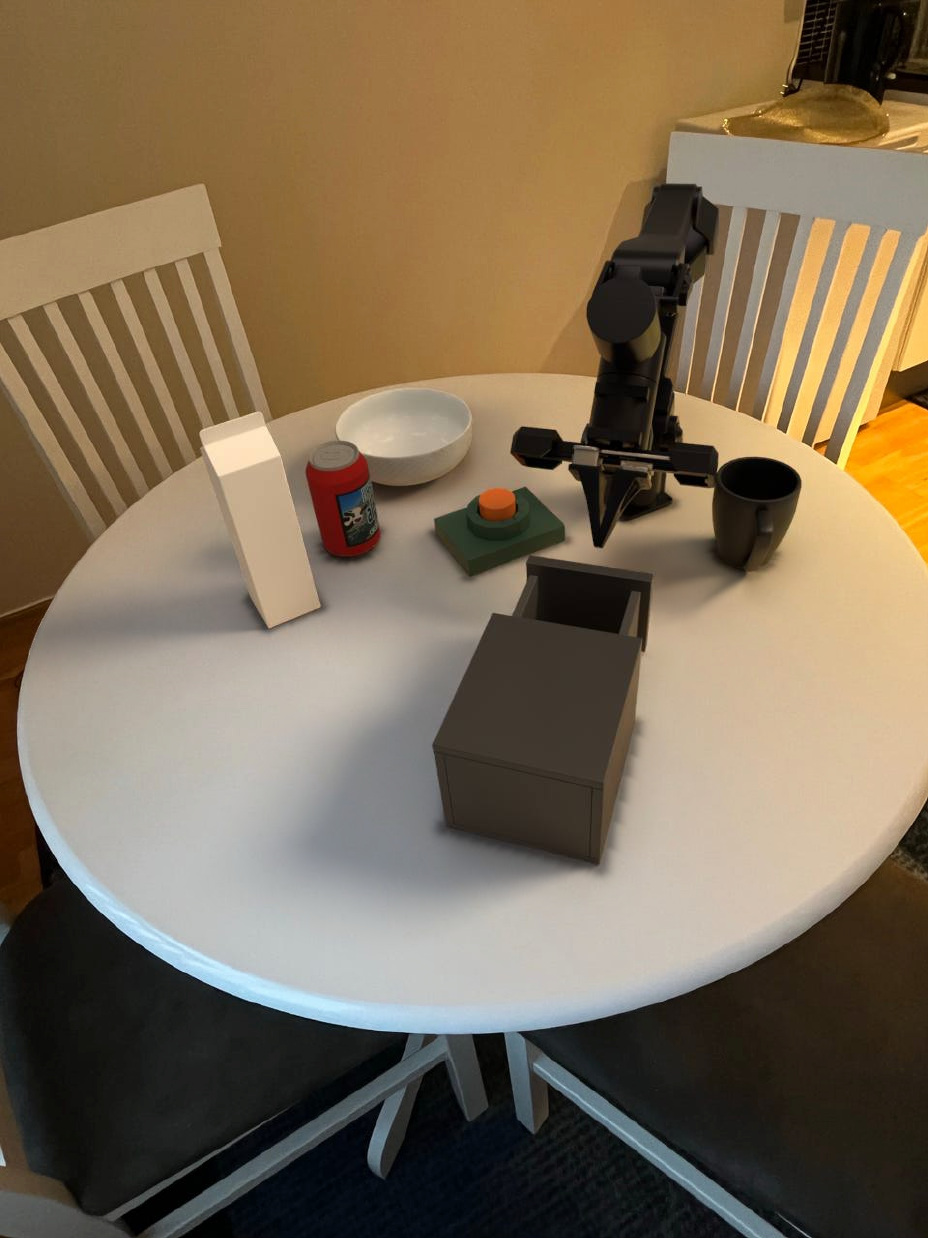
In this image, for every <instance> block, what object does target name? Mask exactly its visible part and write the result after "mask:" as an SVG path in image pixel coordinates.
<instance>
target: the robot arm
mask: <svg viewBox="0 0 928 1238" xmlns="http://www.w3.org/2000/svg"><path fill="white" fill-rule="evenodd" d="M641 220H642V221H641V227H640V230H639V233H638V235H637V236H635V237H632V238H628V239H625V240H622V241H621V242H620V243H619V244H618V245H617V247H616V248H615V249H614V250H613V252H612V255H611V258H610V260H605V261H604V264H603V267H602V269H601V271H600V274H599V276H598V279H597V281H596V283H595V285H594V288H593V290H592V293H591V296H590V298H589V299H588V301H587V304H586V310H585V311H586V313H585V315H586V316H585V318H586V322H587V325H588V327H589V330H590V333H591V336H592V338H593V341H594V344H595V347H596V349H597V352H598V354H599V355H600V358H599V365H598V369H597V375H596V382H595V386H594V390H593V398H592V403H591V408H590V409H591V411H590V416H589V422H588V423H586V425H585V426H584V429H583V431H582V435H581V438H580V442H577V441H567V440H564V439H563V438H562V437H561V435H560V433H559V432H558V431H557V429H552V428H542V427H534V426H523V425H520V426H519V428H518V429H517V430H515V432H514V433H513V435H512V441H511V444H510V445H511V446H510V451H509V454H510V455H511V456H512V457H513V458H514V459H515V460H516V461H517V462H518V463H519V464H520V466H523V467H526V468H531V469H539V470H546V471H548V470H549V471H554V470H556V469H557V468H558V467H560V465H562V464H563V462H567V463H569V464H568V468H567V470H568V471H569V473H570V475H571V476H572V477H573V478H574V480H575V481H577V482H580V483H581V487H582V490H583V494H584V497H585V502H586V508H587V513H588V520H589V526H590V533H591V539H592V546H593V547H594V549H595V548H596V549H604V548H605V546H606V544H607V542H608V540H609V538H610V536H611V534H612V533H613V531H614V529H615V527H616V525H617V524H618V522H619V520H620V518H621V517H623V519H625V520H629V521H630V520H632V519H635V518H638V517H640V516H643V515H645V514H648V513H651V512H654V511H656V510H659V509H661V508H664V507H667V506H669V505H672V504H673V500H674V499H673V497H672V496H671V495H669V493H666V483H667V474H673V477H674V479H675V480H676V482H678V484H679V485H680V486H685V487H686V486H687V487H694V488H701V489H703V488H704V489H714V487H715V481H716V475H717V472H718V470H719V455H720V452H718V450H717V449H716V447H715V446H714V445H711V444H700V443H689V442H684V430H683V429H682V427H681V424H680V417H679V415H675V400H676V399H675V398H676V397H675V395H676V394H675V392H674V391H675V390H674V384H673V382H672V379H671V378H670V377H669V376H670V372H671V368H672V363H673V358H674V353H675V348H676V345H677V340H678V335H679V331H680V326H681V321H682V316H683V313H684V308H685V307H687V304H688V303H689V299H690V298H691V295H692V292H693V288H694V285H695V284H696V283H697V282H698V281H699V280H700V279H701V278H703V277H704V276H705V275H706V272H707V271H706V270H707V266H708V262H709V258H710V256H715V255H716V250H717V244H718V239H719V232H720V231H719V230H720V209H719V207H718V206H716V204H714V203H712V202H711V201H710V200H708V199H707V198H706V197H705V196H703V186H698V185H697V184H696V183H674V182H673V183H670V182H668V183H664V182H663V183H662V182H661V184H660V185H655V186H654V187H653V191H652V195H651V200H650V201H649V202H648V203H647V204H646V205H645V206H644V210H643V214H642V219H641ZM605 502H606V504H605Z"/></svg>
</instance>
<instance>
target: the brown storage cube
mask: <svg viewBox="0 0 928 1238" xmlns="http://www.w3.org/2000/svg"><path fill="white" fill-rule="evenodd" d="M641 649H642V638H638V637H632V636H626V635H620V634H615V633H609V632H603V631H597V630H591V629H586V628H580V627H574V626H568V625H562V624H557V623H551V622H545V621H539V620H533V619H527V618H522V617H516V616H512V615H509V614H504V613H498V612H492V613H491V616H490V618H489V620H488V622H487V623H486V626H485V629H484V630H483V633H482V635H481V637H480V639H479V642H478V644H477V646H476V648H475V650H474V652H473V655H472V657H471V659H470V661H469V664H468V665H467V668H466V670H465V672H464V674H463V677H462V679H461V681H460V683H459V685H458V687H457V690H456V692H455V694H454V695H453V698H452V699H451V702H450V705H449V707H448V709H447V711H446V713H445V716H444V718H443V720H442V721H441V724H440V727H439V728H438V731H437V733H436V736H435V738H434V740H433V742H432V751H433V757H434V763H435V764H434V765H435V769H436V776H437V781H438V787H439V794H440V800H441V804H442V810H443V817H444V822H445V826H446V827H448V828H452V829H457V830H459V831H463V832H467V833H472V834H476V835H480V836H482V837H483V836H484V837H488V838H492V839H495V840H500V841H503V842H507V843H510V844H511V843H512V844H515V845H519V846H523V847H527V848H531V849H534V850H538V851H543V852H546V853H550V854H554V855H557V856H562V857H566V858H569V859H573V860H577V861H582V862H585V863H589V864H594V865H597V866H599V865H600V864H601V860H602V856H603V853H604V849H605V844H606V841H607V836H608V832H609V828H610V825H611V822H612V821H611V820H612V816H613V812H614V808H615V804H616V800H617V797H618V792H619V788H620V785H621V784H620V783H621V780H622V777H623V773H624V769H625V764H626V760H627V757H628V752H629V748H630V744H631V740H632V736H633V733H634V732H633V731H634V729H635V723H636V713H637V704H638V691H639V680H640V669H641V659H642V658H641V657H642V652H641Z"/></svg>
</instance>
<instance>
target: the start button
mask: <svg viewBox="0 0 928 1238" xmlns="http://www.w3.org/2000/svg"><path fill="white" fill-rule="evenodd" d="M511 491H512V490H509V489H507V488H502V487H496V488H489V489H487V490H485V491H483V492H481V494H479V495H480V497H479V508H480V515H481V516H482V517H483V518H484V519H487V520H490V521H503V520H505V519H508V518H511V517H513V516H514V514H515V512H516V505H515V495H514V494H513V493H512V492H511Z"/></svg>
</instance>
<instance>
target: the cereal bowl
mask: <svg viewBox="0 0 928 1238" xmlns="http://www.w3.org/2000/svg"><path fill="white" fill-rule="evenodd" d="M334 429H335V431H334V432H335V438H336V441H347V442H351V443H353V444H355V445H356V446H357V448H358V450H359V451H360V453H361V454H362V455H363V456H364V457H365V458H366V460H367V464H368V469H369V474H370V479H371V482H373V483H378V484H381V485H385V486H396V487H397V486H398V487H403V486H405V487H407V486H414V485H416V486H417V485H420V484H424V483H428V482H431V481H433V480H436V479H438V478H441V477H442V476H445V475H446V474H448V473H449V472H451V471H452V470H453V469H455V468H456V467H457V465H459V464H460V462H461V461H462V460H463V459H464V457H465V456H466V454H467V452H468V450H469V448H470V445H471V443H472V442H471V441H472V438H473V437H472V436H473V415H472V411H471V409H470V407H469V406H468V404H467V403H466V402H465V401H464V400H463V399H461V398H460V397H458V396H456V395H454V394H452V393H450V392H447V391H444V390H441V389H435V388H428V387H400V388H393V389H387V390H383V391H380V392H375V393H374V394H371V395H370V394H369V395H367V396H365V397H363V398H361V399H359V400H357V401H355V402H354V403H352V404H351V405H350V406H348V407H347V408H346V409H345V410H344V411H342V413H341V414H340V415H339V417H338V419H337V421H336V424H335V428H334Z"/></svg>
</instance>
